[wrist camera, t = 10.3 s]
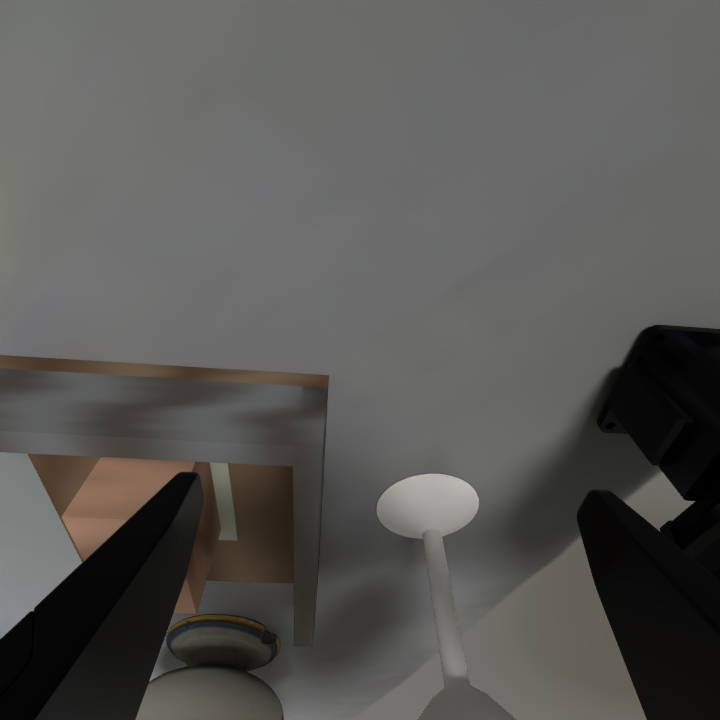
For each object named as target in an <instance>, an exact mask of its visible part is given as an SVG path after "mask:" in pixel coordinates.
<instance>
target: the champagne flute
mask: <svg viewBox="0 0 720 720" xmlns="http://www.w3.org/2000/svg"><path fill="white" fill-rule="evenodd" d="M478 507H479V498H478V495H477V493H476V491H475V490H474V489H473V487H472V486H470V485H469V484H468V483H467V482H465V481H463V480H461V479H459V478H456V477H453V476H450V475H443V474H423V475H416V476H412V477H409V478H406V479H403V480H401V481H399V482H397V483H395V484H393V485H392V486H390V487H389V488H388V489H387V490H386V491H385V492H384V493H383V494H382V495H381V497H380V498H379V500H378V503H377V509H376V512H377V516H378V519H379V520H380V522H381V523H382V524H383V525H384V526H385V527H386V528H387V529H388V530H390V531H392V532H393V533H396V534H398V535H401V536H405V537H409V538H417V539H423V543H424V550H425V556H426V563H427V570H428V577H429V583H430V590H431V597H432V604H433V611H434V617H435V624H436V631H437V638H438V644H439V651H440V657H441V664H442V671H443V678H444V685H445V688H444V689H443V690H442V691H440V692H439V693H438V694H437V695H436V696H435V697H433V698H432V700H431V701H430V702H429V704H428V705H427V707H426V708H425V710H424V711H423V713H422V715H421V716H420V717H419V719H418V720H516V719H515V718H514V717H513V716H511V715H510V714H509V713H508V712H507V711H506V710H505V709H503V708H502V707H501V706H500V705H499V704H498V703H497V702H495V701H494V700H493V699H492V698H491V697H490V696H488V695H487V694H486V693H484V692H482V691H480V690H478V689H476V688H474V687H472V686H470V681H469V676H468V671H467V666H466V660H465V655H464V650H463V645H462V639H461V634H460V629H459V624H458V618H457V613H456V608H455V602H454V597H453V592H452V587H451V581H450V576H449V571H448V566H447V560H446V555H445V550H444V545H443V539H442V537H443V536H446V535H448V534H451V533H453V532H456V531H457V530H459V529H461V528H463V527H464V526H465V525H467V524H468V523H469V522H470V521H471V520H472V519H473V518H474V516H475V515H476V513H477V511H478Z"/></svg>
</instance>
